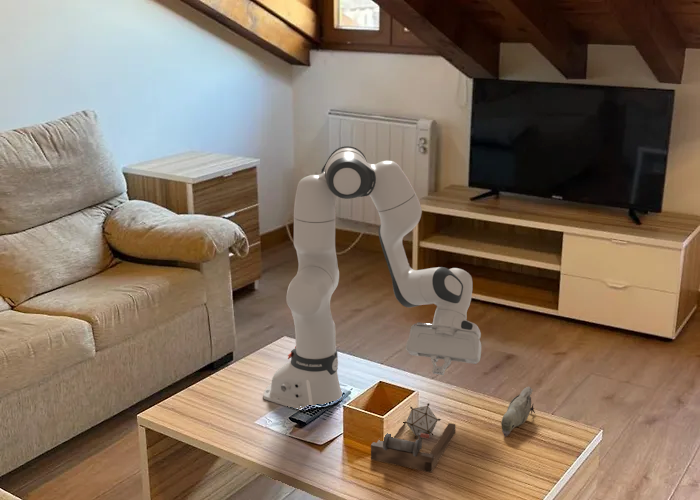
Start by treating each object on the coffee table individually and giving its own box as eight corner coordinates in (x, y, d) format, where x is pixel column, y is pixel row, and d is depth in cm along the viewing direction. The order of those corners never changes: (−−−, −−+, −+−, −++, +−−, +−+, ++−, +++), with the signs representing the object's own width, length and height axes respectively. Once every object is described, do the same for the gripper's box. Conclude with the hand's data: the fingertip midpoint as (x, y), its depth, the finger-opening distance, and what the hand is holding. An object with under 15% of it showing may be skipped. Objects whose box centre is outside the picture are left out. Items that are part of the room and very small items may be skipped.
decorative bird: (494, 435, 216) (495, 409, 214) (518, 409, 229) (519, 384, 227) (514, 440, 213) (516, 414, 211) (537, 414, 226) (538, 389, 224)
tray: (369, 462, 205) (368, 427, 202) (398, 422, 223) (398, 389, 220) (429, 475, 199) (430, 439, 196) (455, 432, 217) (456, 399, 214)
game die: (427, 450, 216) (437, 434, 208) (396, 437, 217) (405, 420, 209) (437, 421, 222) (447, 404, 214) (407, 408, 222) (416, 391, 214)
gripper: (409, 317, 230) (398, 364, 225) (482, 325, 223) (472, 374, 217) (415, 326, 236) (404, 372, 230) (486, 335, 228) (476, 383, 222)
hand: (437, 373), depth 223 cm, fingers closed
